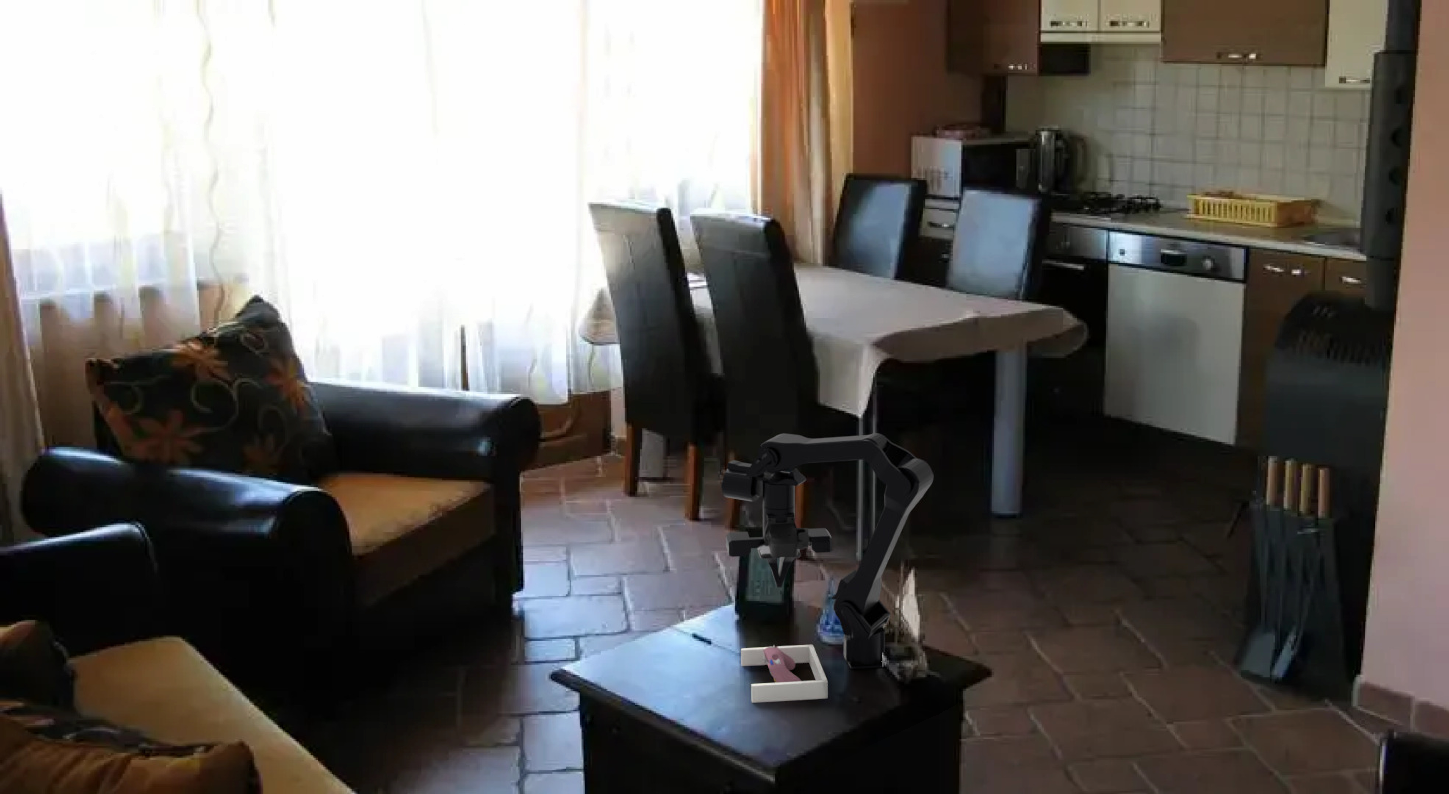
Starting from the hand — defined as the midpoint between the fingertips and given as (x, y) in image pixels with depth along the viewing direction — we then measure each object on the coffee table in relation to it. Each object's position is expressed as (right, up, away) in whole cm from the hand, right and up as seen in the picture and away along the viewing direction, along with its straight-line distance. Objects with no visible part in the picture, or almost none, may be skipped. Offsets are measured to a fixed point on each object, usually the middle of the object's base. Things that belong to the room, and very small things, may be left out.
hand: (779, 586), depth 272 cm
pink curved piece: (0, -15, -13) cm, 19 cm away
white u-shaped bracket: (0, -15, -13) cm, 20 cm away
